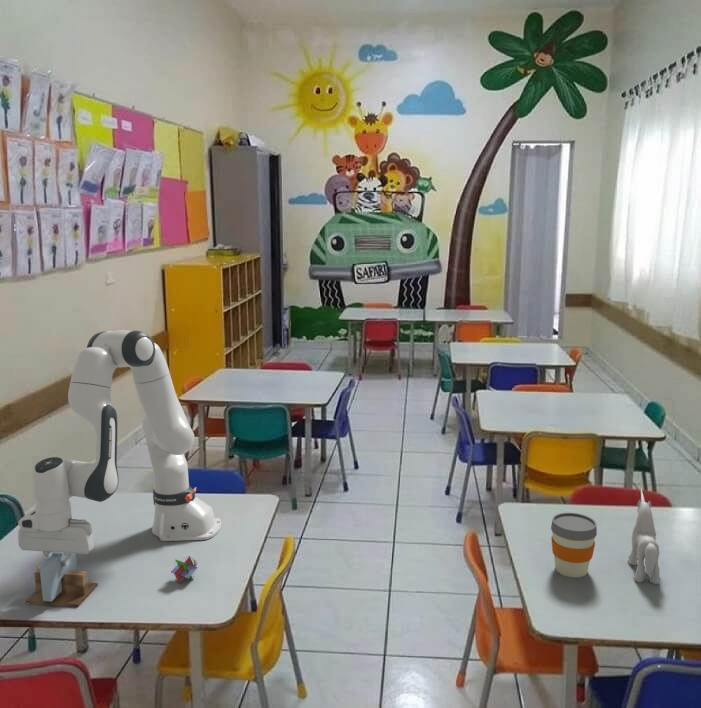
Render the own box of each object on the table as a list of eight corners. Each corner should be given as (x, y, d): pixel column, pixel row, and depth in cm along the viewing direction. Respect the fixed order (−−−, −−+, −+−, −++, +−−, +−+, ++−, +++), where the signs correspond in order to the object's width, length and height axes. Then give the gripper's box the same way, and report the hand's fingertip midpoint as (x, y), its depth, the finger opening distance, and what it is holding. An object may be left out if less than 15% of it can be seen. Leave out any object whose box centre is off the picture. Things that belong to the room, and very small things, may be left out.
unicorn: (649, 548, 217) (654, 488, 212) (664, 591, 193) (670, 524, 189) (623, 546, 218) (627, 485, 214) (635, 588, 195) (640, 521, 190)
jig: (97, 585, 199) (95, 563, 197) (78, 607, 188) (76, 584, 187) (47, 582, 201) (45, 560, 199) (25, 603, 190) (23, 580, 189)
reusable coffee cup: (540, 568, 206) (542, 520, 203) (564, 554, 214) (567, 508, 210) (578, 585, 196) (581, 536, 193) (602, 570, 204) (606, 522, 201)
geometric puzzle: (179, 584, 195) (191, 556, 197) (162, 578, 198) (173, 550, 201) (195, 589, 200) (206, 561, 203) (177, 582, 204) (188, 555, 207)
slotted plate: (70, 573, 201) (66, 541, 199) (78, 574, 201) (75, 542, 198) (43, 600, 187) (39, 566, 185) (51, 601, 187) (47, 567, 185)
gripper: (96, 515, 191) (100, 561, 194) (26, 511, 194) (31, 557, 197) (84, 525, 185) (89, 573, 188) (12, 521, 188) (17, 568, 191)
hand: (59, 565), depth 193 cm, fingers closed on slotted plate, 2 cm apart
